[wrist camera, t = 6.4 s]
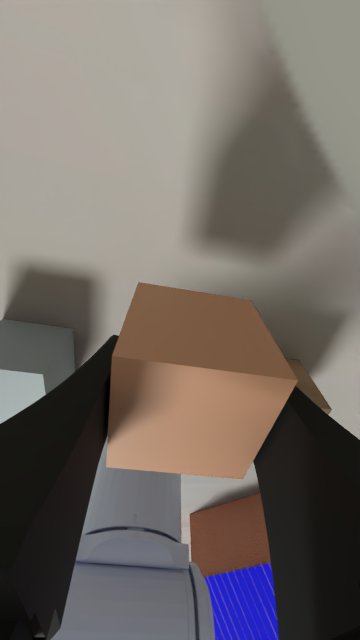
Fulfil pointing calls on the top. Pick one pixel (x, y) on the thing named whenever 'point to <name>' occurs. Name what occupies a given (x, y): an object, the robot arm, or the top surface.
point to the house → (236, 568)
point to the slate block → (32, 363)
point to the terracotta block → (193, 384)
